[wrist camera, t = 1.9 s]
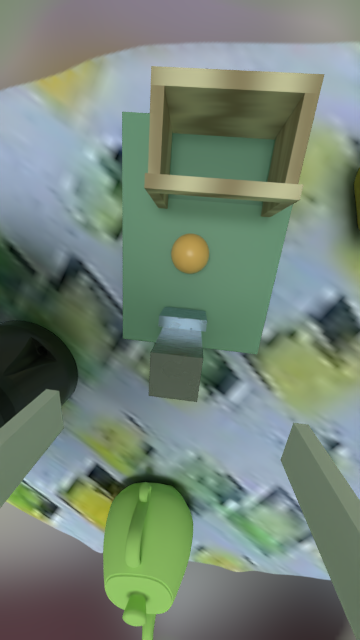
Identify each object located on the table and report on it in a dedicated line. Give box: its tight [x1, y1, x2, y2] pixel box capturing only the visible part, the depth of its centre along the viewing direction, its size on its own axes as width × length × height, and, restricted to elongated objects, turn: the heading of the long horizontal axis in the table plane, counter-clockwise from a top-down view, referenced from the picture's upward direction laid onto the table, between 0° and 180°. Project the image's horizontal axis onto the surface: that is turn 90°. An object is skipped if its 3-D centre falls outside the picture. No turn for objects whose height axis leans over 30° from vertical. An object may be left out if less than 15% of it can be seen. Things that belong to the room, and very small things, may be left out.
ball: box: [171, 234, 209, 274], centre depth 20 cm, size 4×4×4 cm
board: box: [122, 112, 293, 354], centre depth 22 cm, size 18×24×1 cm
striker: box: [149, 307, 207, 402], centre depth 20 cm, size 5×5×10 cm
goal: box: [144, 66, 324, 217], centre depth 17 cm, size 12×8×6 cm, turn 85°
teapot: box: [103, 482, 193, 640], centre depth 31 cm, size 22×15×13 cm
